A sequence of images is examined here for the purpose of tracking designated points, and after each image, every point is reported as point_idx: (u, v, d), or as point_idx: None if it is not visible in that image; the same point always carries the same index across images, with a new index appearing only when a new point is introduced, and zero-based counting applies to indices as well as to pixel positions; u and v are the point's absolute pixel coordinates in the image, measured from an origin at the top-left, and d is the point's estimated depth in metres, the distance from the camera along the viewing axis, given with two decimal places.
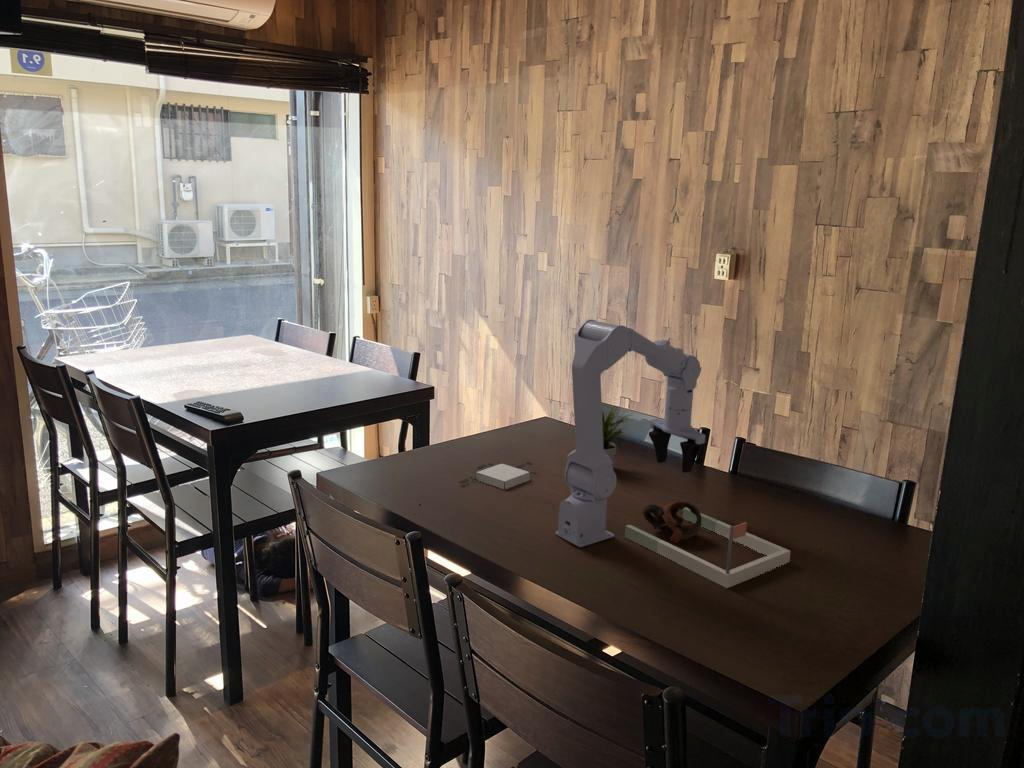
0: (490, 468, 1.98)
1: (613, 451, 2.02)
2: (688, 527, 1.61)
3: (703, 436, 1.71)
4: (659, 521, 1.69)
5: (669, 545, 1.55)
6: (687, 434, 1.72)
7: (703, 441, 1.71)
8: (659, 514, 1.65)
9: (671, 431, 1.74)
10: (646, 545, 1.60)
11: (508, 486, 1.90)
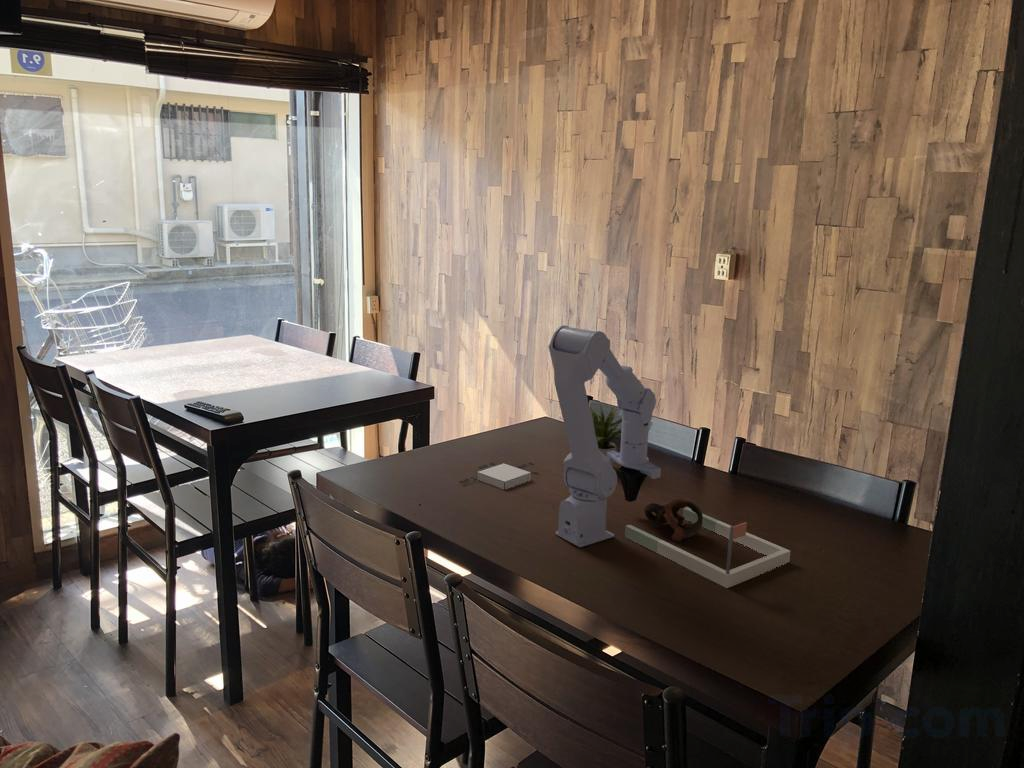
0: (491, 468, 1.98)
1: None
2: (689, 526, 1.61)
3: (658, 470, 1.68)
4: (660, 520, 1.70)
5: (669, 545, 1.55)
6: (642, 468, 1.69)
7: (658, 475, 1.68)
8: (660, 513, 1.65)
9: (626, 465, 1.71)
10: (646, 545, 1.60)
11: (508, 486, 1.90)
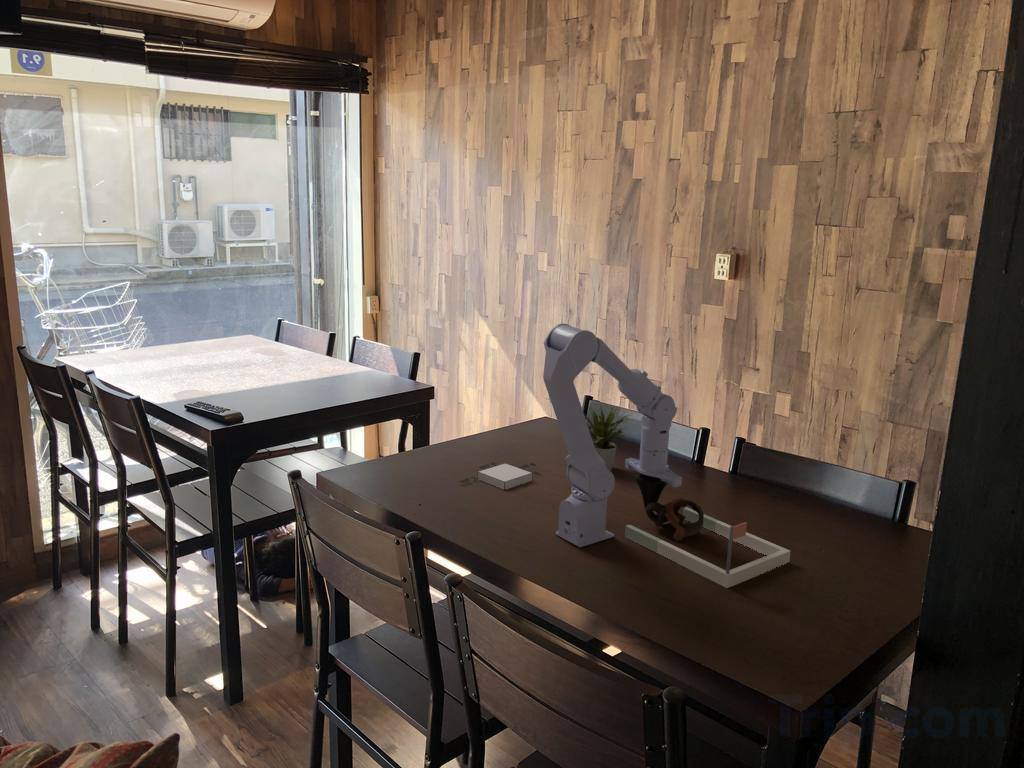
0: (493, 468, 1.98)
1: (613, 451, 2.02)
2: (691, 525, 1.62)
3: (679, 479, 1.63)
4: (661, 519, 1.70)
5: (669, 545, 1.55)
6: (663, 476, 1.64)
7: (679, 484, 1.64)
8: (662, 512, 1.66)
9: (646, 473, 1.66)
10: (646, 545, 1.60)
11: (508, 486, 1.90)
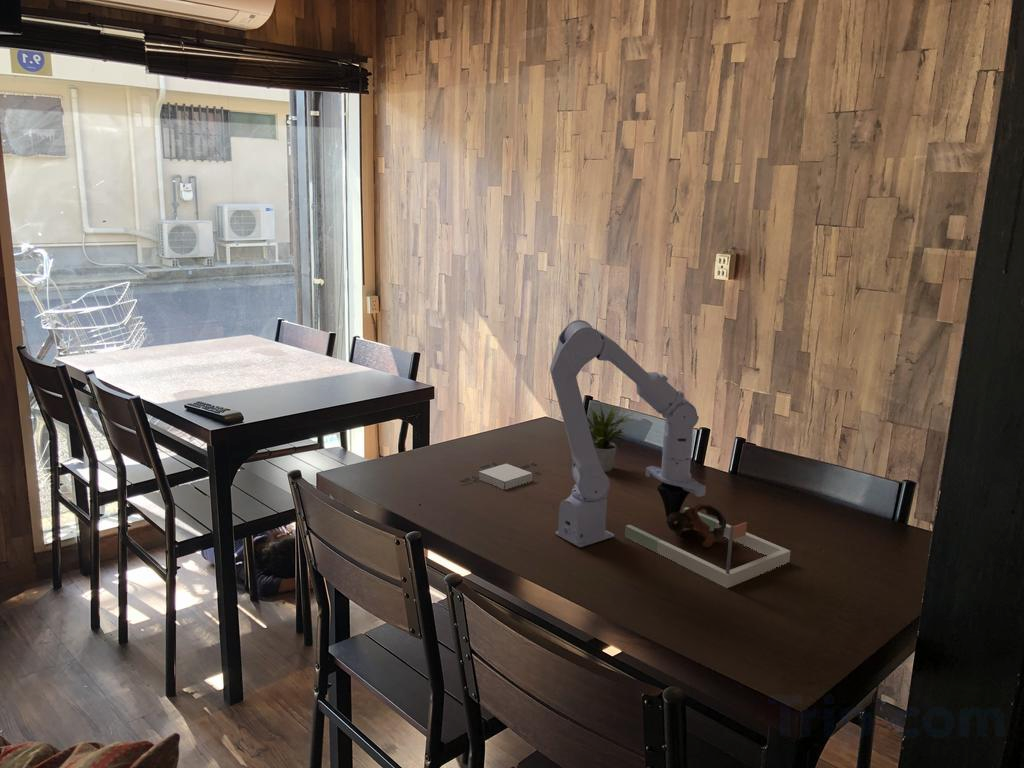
0: (493, 468, 1.98)
1: (613, 451, 2.02)
2: (720, 529, 1.60)
3: (703, 488, 1.58)
4: None
5: (669, 545, 1.55)
6: (686, 485, 1.59)
7: (703, 493, 1.59)
8: (686, 521, 1.61)
9: (669, 482, 1.61)
10: (646, 545, 1.60)
11: (508, 486, 1.90)
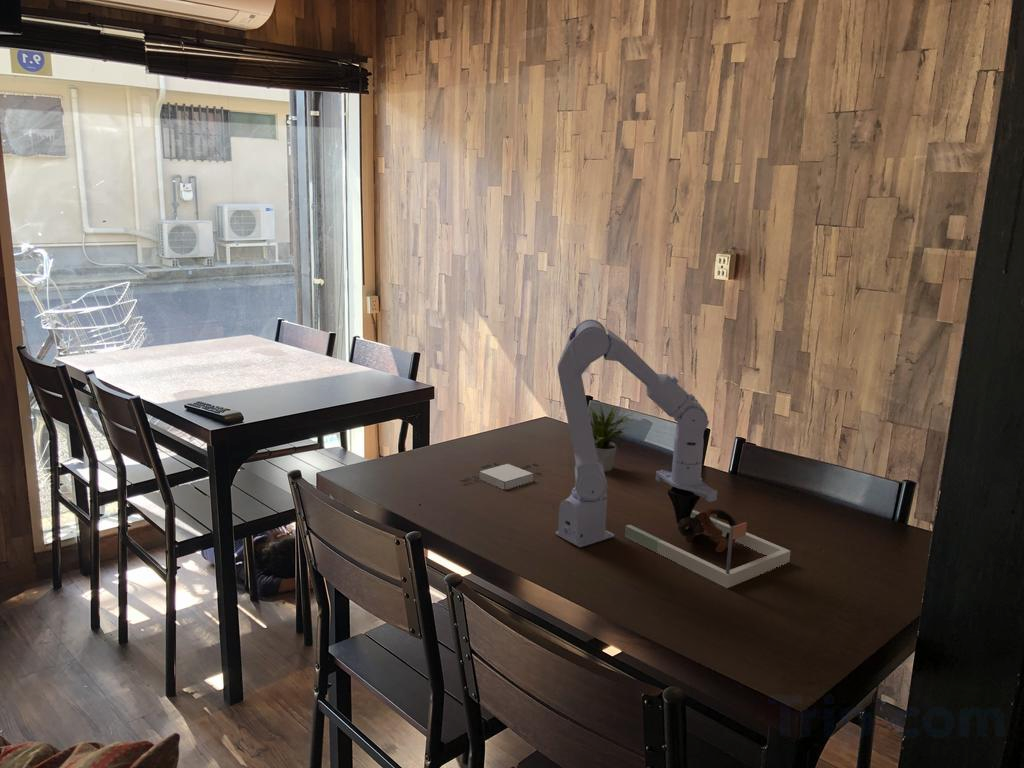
0: (494, 468, 1.98)
1: (613, 451, 2.02)
2: None
3: (715, 493, 1.56)
4: None
5: (669, 545, 1.55)
6: (697, 490, 1.57)
7: (715, 498, 1.56)
8: (699, 526, 1.59)
9: (679, 486, 1.59)
10: (646, 545, 1.60)
11: (509, 486, 1.90)
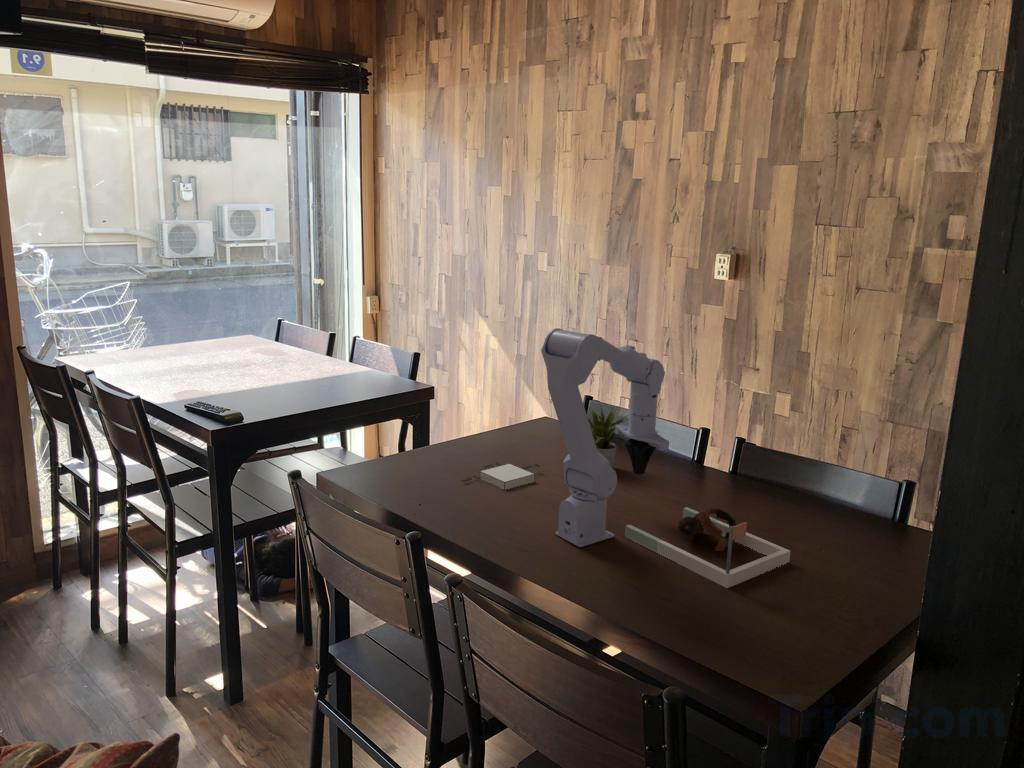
0: (496, 468, 1.98)
1: (613, 451, 2.02)
2: None
3: (667, 442, 1.67)
4: None
5: (669, 545, 1.55)
6: (650, 440, 1.68)
7: (667, 447, 1.67)
8: (698, 525, 1.59)
9: (635, 437, 1.70)
10: (646, 545, 1.60)
11: (509, 487, 1.90)
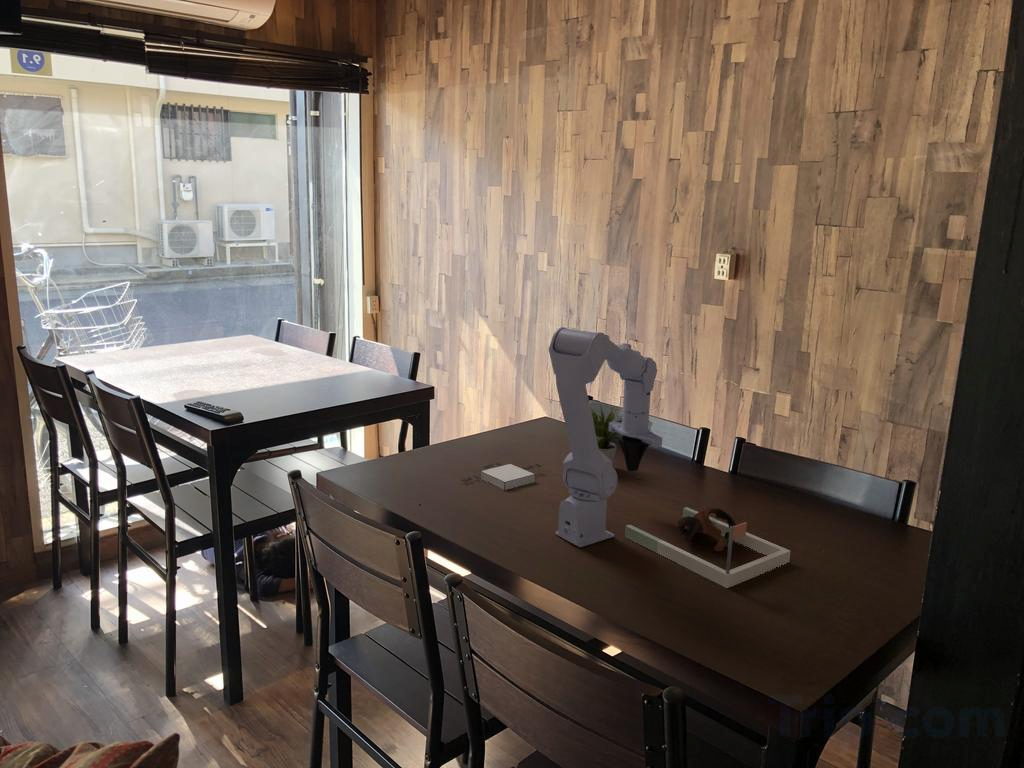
0: (496, 468, 1.98)
1: (613, 451, 2.02)
2: None
3: (660, 439, 1.69)
4: None
5: (669, 545, 1.55)
6: (644, 437, 1.70)
7: (660, 444, 1.69)
8: (698, 525, 1.59)
9: (628, 434, 1.72)
10: (646, 545, 1.60)
11: (509, 487, 1.90)
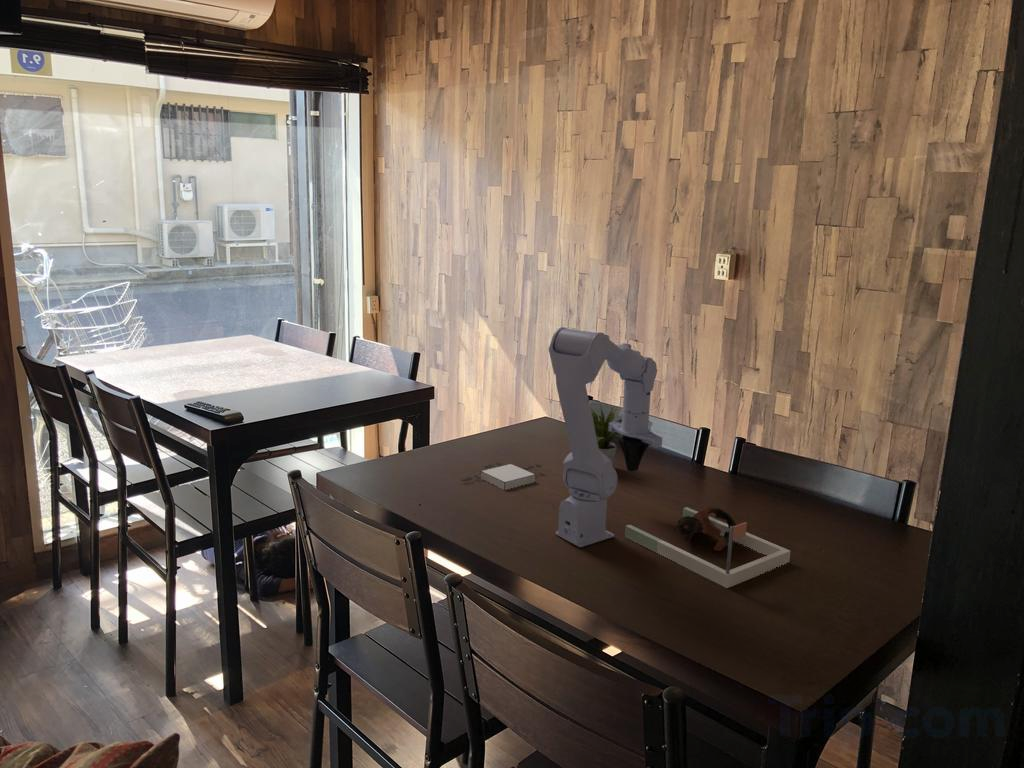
0: (497, 468, 1.98)
1: (613, 451, 2.02)
2: None
3: (660, 439, 1.69)
4: None
5: (669, 545, 1.55)
6: (644, 437, 1.70)
7: (660, 444, 1.69)
8: (697, 525, 1.60)
9: (628, 434, 1.72)
10: (646, 545, 1.60)
11: (509, 487, 1.90)
